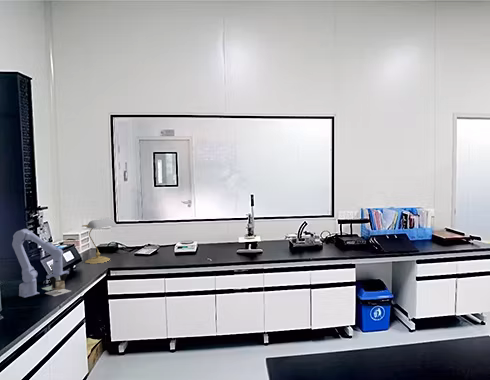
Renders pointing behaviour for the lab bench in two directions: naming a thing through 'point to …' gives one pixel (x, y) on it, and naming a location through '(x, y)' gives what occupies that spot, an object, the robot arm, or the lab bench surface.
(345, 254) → the lab bench surface
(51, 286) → the sage pad
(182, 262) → the lab bench surface
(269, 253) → the lab bench surface
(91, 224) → the desk lamp
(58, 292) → the card
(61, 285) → the beech block
